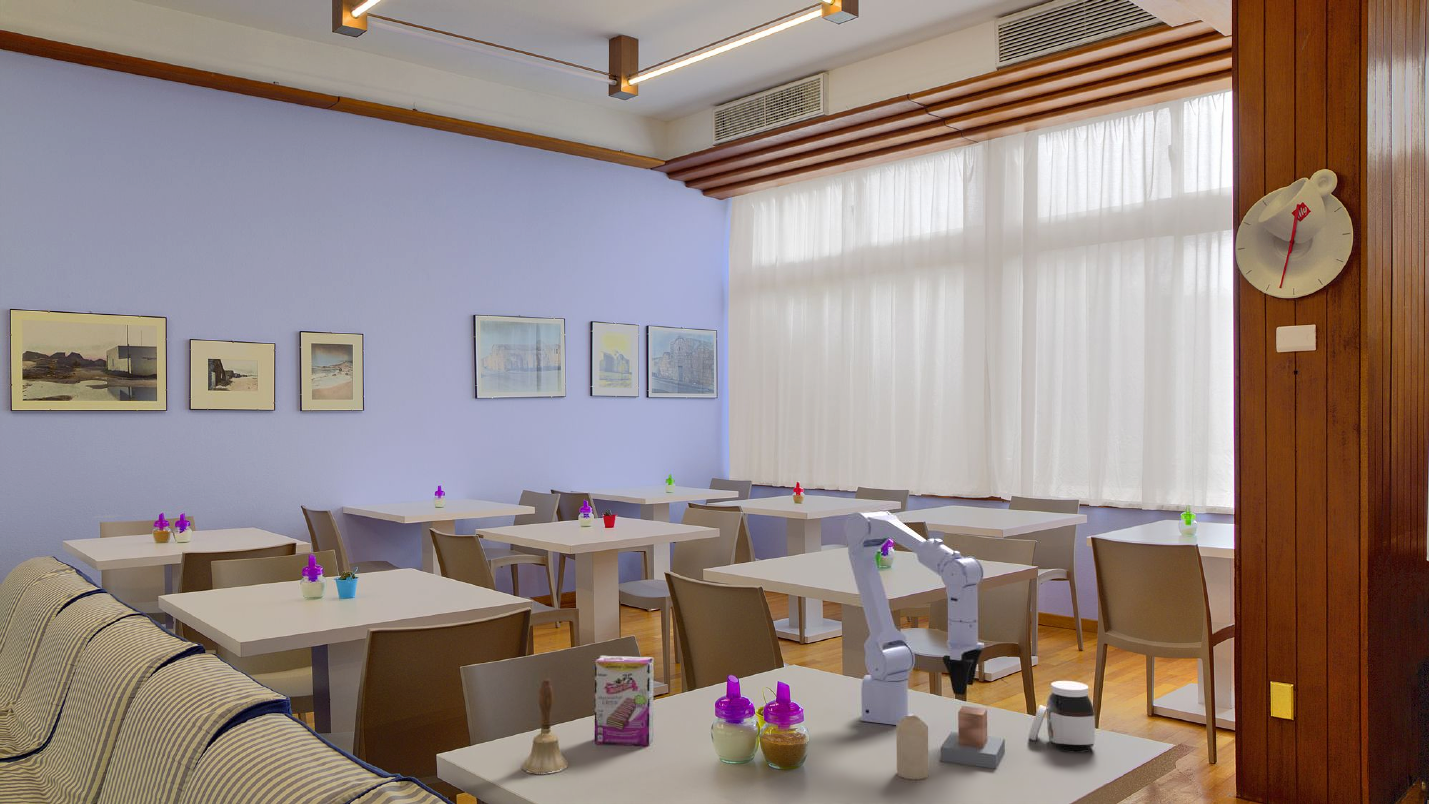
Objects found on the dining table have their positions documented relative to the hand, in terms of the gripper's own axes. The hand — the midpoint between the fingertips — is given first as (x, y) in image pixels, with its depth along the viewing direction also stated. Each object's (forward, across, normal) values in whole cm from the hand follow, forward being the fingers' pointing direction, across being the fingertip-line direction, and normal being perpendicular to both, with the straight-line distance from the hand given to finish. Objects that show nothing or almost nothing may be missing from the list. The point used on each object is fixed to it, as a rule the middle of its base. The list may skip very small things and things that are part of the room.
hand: (963, 689), depth 185 cm
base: (+10, -8, -3) cm, 13 cm away
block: (+8, -8, -3) cm, 11 cm away
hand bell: (+11, -46, +66) cm, 82 cm away
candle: (+10, -22, +5) cm, 25 cm away
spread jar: (+10, +6, -17) cm, 21 cm away
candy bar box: (+11, -28, +60) cm, 68 cm away
